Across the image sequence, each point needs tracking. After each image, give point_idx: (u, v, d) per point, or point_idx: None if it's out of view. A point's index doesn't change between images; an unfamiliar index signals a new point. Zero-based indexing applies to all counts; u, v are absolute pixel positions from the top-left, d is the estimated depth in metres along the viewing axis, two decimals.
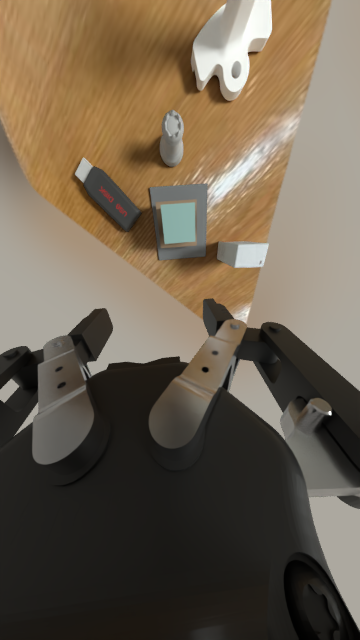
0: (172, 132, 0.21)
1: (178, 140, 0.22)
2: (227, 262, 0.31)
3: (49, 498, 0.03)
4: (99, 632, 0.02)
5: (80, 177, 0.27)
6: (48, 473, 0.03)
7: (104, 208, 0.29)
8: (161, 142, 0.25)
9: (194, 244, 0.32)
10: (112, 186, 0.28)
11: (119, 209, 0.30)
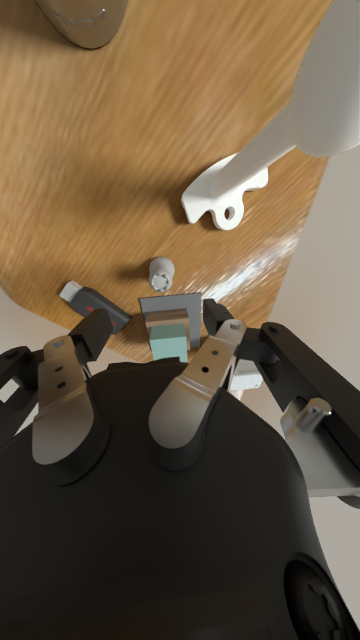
0: (160, 287, 0.20)
1: (167, 289, 0.20)
2: None
3: (49, 498, 0.03)
4: (99, 632, 0.02)
5: (65, 298, 0.25)
6: (48, 473, 0.03)
7: None
8: (150, 270, 0.24)
9: (187, 349, 0.30)
10: (99, 304, 0.26)
11: None
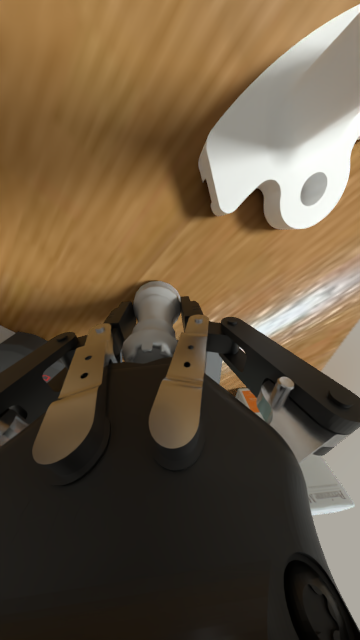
0: None
1: None
2: None
3: (49, 498, 0.03)
4: (99, 632, 0.02)
5: None
6: (48, 473, 0.03)
7: None
8: (135, 309, 0.12)
9: None
10: None
11: None
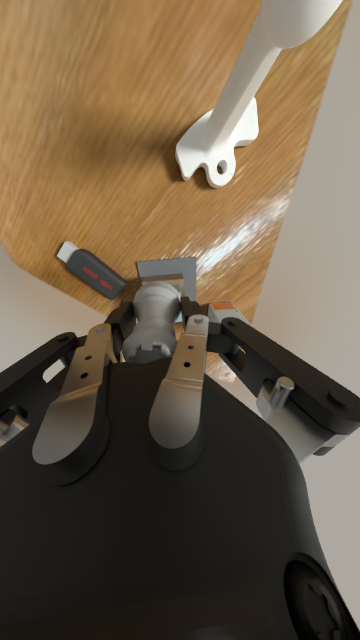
0: None
1: None
2: None
3: (49, 498, 0.03)
4: (99, 632, 0.02)
5: (62, 258, 0.26)
6: (48, 473, 0.03)
7: (88, 283, 0.29)
8: (135, 309, 0.12)
9: None
10: (95, 265, 0.27)
11: (104, 284, 0.29)
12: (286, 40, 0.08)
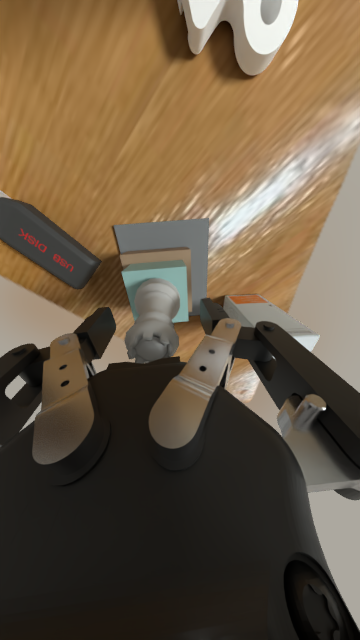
0: (151, 358, 0.09)
1: None
2: None
3: (49, 498, 0.03)
4: (99, 632, 0.02)
5: None
6: (48, 473, 0.03)
7: (34, 261, 0.18)
8: (136, 305, 0.13)
9: (188, 310, 0.20)
10: (40, 228, 0.16)
11: (60, 261, 0.18)
12: None
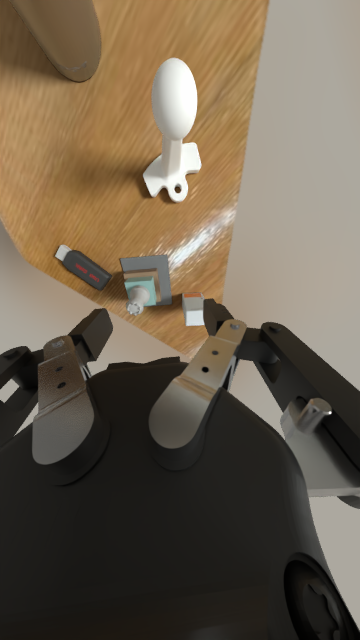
0: (134, 311, 0.27)
1: None
2: (184, 317, 0.38)
3: (49, 498, 0.03)
4: (99, 632, 0.02)
5: (59, 258, 0.34)
6: (48, 473, 0.03)
7: (80, 277, 0.37)
8: (130, 296, 0.31)
9: (158, 300, 0.39)
10: (85, 262, 0.35)
11: (92, 277, 0.37)
12: (171, 139, 0.16)
